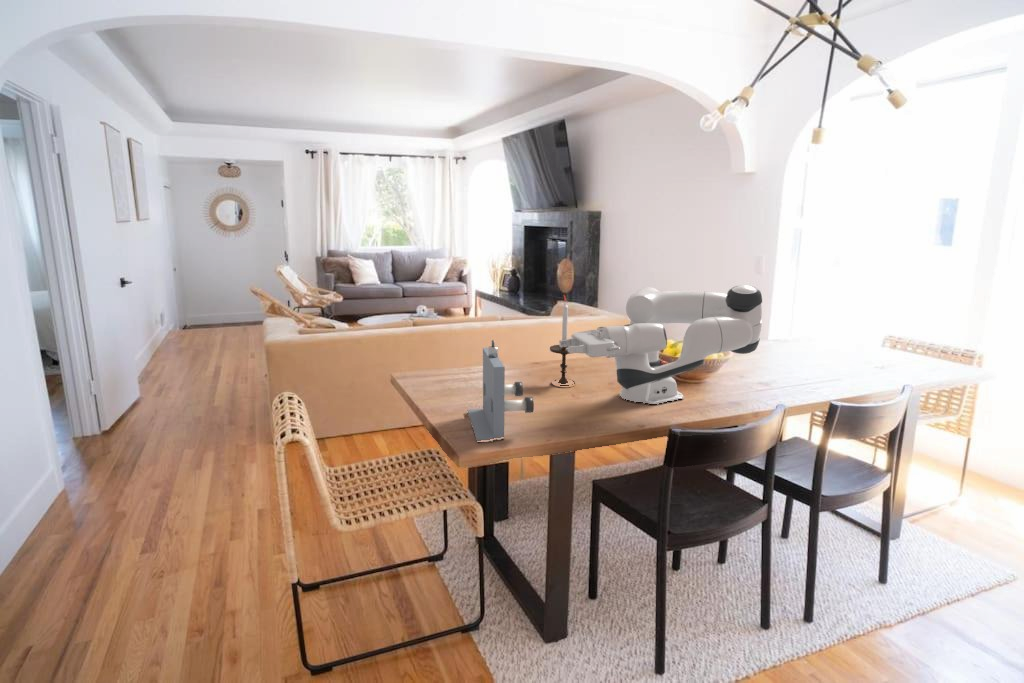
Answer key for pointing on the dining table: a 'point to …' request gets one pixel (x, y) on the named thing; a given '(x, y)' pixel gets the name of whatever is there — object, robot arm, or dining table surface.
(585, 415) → the dining table surface
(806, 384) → the dining table surface
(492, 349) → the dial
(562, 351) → the candlestick
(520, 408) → the knob
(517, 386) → the knob
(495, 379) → the mount
